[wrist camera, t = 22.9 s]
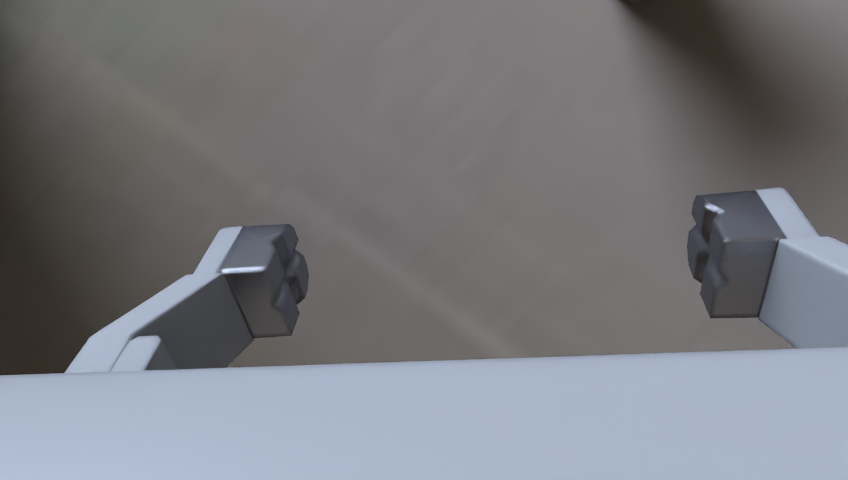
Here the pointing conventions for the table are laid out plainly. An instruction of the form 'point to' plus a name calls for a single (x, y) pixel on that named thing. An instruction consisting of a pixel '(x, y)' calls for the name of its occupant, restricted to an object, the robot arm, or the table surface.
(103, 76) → the table surface
